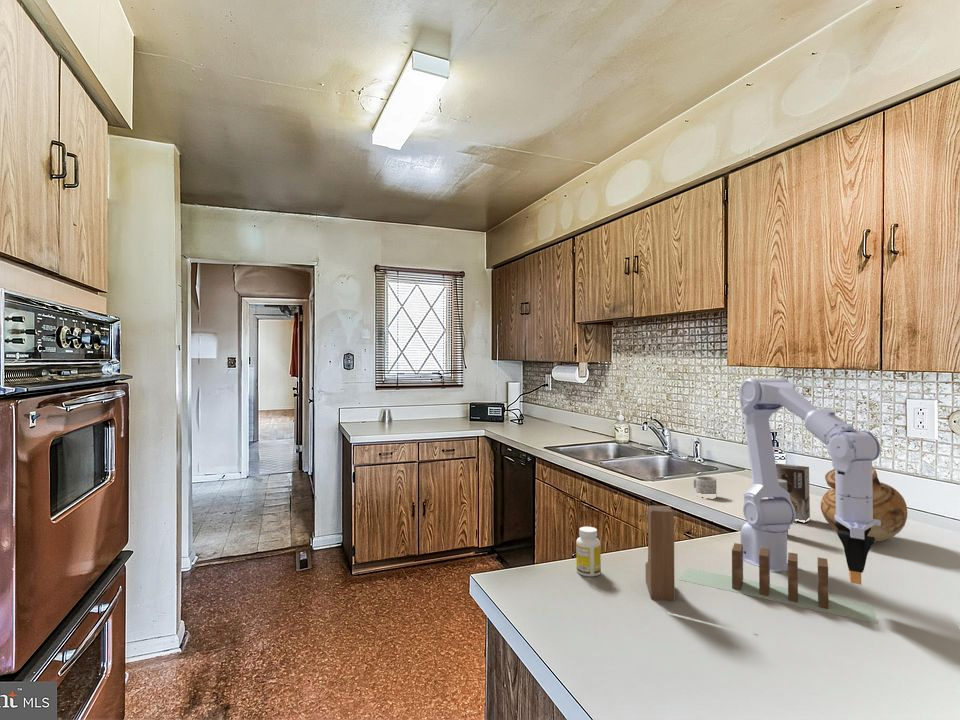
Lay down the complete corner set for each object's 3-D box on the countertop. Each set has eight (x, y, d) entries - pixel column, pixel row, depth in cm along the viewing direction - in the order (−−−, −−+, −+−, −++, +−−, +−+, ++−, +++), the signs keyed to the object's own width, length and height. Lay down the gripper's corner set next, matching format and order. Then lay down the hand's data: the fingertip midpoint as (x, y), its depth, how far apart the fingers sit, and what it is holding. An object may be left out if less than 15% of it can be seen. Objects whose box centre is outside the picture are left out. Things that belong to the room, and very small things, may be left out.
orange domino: (850, 582, 94) (850, 539, 94) (848, 573, 98) (848, 532, 98) (861, 584, 93) (861, 541, 93) (858, 575, 97) (858, 533, 98)
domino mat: (679, 581, 109) (679, 579, 109) (686, 569, 116) (686, 567, 116) (877, 625, 91) (877, 623, 91) (872, 607, 98) (872, 605, 98)
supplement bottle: (597, 567, 117) (597, 525, 117) (603, 577, 112) (603, 532, 112) (574, 567, 117) (574, 525, 117) (579, 577, 111) (579, 533, 112)
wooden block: (645, 582, 109) (645, 499, 109) (667, 584, 108) (666, 500, 108) (651, 601, 100) (650, 510, 100) (674, 603, 99) (674, 512, 99)
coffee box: (810, 519, 154) (810, 466, 154) (806, 524, 149) (805, 469, 149) (777, 513, 160) (776, 462, 160) (771, 517, 155) (771, 465, 156)
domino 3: (788, 600, 100) (787, 560, 100) (788, 591, 104) (788, 552, 104) (797, 602, 99) (797, 561, 99) (797, 593, 103) (797, 553, 103)
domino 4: (818, 607, 97) (818, 565, 97) (817, 597, 101) (817, 557, 101) (828, 609, 96) (828, 567, 96) (827, 599, 100) (827, 558, 100)
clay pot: (804, 528, 145) (804, 459, 145) (864, 526, 147) (863, 458, 147) (860, 553, 126) (860, 473, 126) (928, 550, 128) (927, 472, 128)
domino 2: (759, 594, 102) (759, 554, 102) (761, 585, 106) (760, 547, 107) (768, 596, 101) (768, 556, 101) (769, 587, 106) (769, 549, 106)
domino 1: (732, 588, 105) (731, 550, 105) (734, 579, 109) (734, 543, 109) (740, 590, 104) (740, 551, 104) (743, 581, 108) (742, 544, 108)
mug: (720, 498, 178) (720, 480, 178) (704, 499, 176) (704, 480, 177) (701, 491, 188) (701, 474, 188) (686, 492, 186) (686, 474, 186)
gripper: (885, 506, 88) (886, 584, 88) (875, 489, 100) (876, 558, 100) (836, 500, 92) (837, 575, 91) (832, 485, 104) (833, 551, 104)
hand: (854, 566), depth 96 cm, fingers closed on orange domino, 5 cm apart
